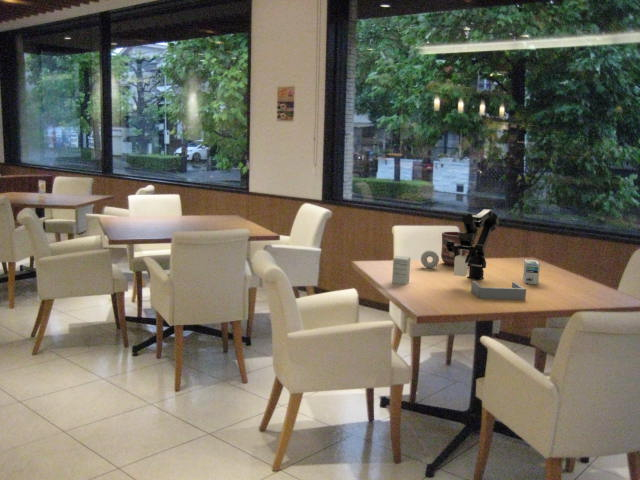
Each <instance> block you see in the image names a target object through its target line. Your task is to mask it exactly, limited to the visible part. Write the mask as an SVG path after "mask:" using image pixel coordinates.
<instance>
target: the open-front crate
mask: <svg viewBox="0 0 640 480" xmlns="http://www.w3.org/2000/svg"><path fill="white" fill-rule="evenodd" d="M470 285H471V288H470V291H471V293H472V294H474V295H475V296H476V297H477V298H478V299H481V300H515V301H516V300H517V301H519V300H521V301H525V300H526V296H527V288H526V287H524V286H522V285H520V284H519V283H517V282H516V281H512V283H511V287H489V286H482V285H481V284H480V283H479V282H477V280H471V284H470Z"/></svg>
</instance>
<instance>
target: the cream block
mask: <svg viewBox="0 0 640 480" xmlns="http://www.w3.org/2000/svg"><path fill="white" fill-rule="evenodd" d="M466 258H467V256H460V255H458V256H456V257H455V262H454V266H453V276H459V277H463V278H464V277H465V276H467V275H468V267H469V266H468V262H467V263H465V261H466Z"/></svg>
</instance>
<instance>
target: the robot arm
mask: <svg viewBox="0 0 640 480" xmlns="http://www.w3.org/2000/svg"><path fill="white" fill-rule="evenodd" d="M461 222H462V226H463V229H464V230H465V231H464V233H459V238H458V239H459V240H460V241H459V243H461V245H458V244H456V243H455V241H447V242H446V247H447V250H448V251H449V252H453V253H454V260H455V257H456V256H458V255H459V251H458V250H459V249H461V250H468V251H469V253H468V256H467V258H466V261H465V263H467V262H468V267H469V270H468V276H467V277H466V278H467V279H470V280H471V279H472V280H474V281H479V280H482V279H483V280H484V279H485V277H484V271H485V270H484V269H486V268H487V261H486V257H485V255H486V247H487V244H488V242H489V239H490V236H491V234H492V232H493V231H495V230H497V227H498V226H499V225H500V218H499V216H498V214H496V213H494V211H493V210H492V209H489V208H488V209H486V208H484V209H482V210H481V211H480V212H479V213H477V214H475V215H474V214H473V213H467V215H465V216H463V217H462V218H461ZM481 228H482V229H481ZM479 229H481V232H480V234H479ZM477 236H479V237H478V240H477V242H475V241H476V239H477V238H476V237H477ZM475 243H476V244H475Z"/></svg>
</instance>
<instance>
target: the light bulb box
mask: <svg viewBox="0 0 640 480" xmlns="http://www.w3.org/2000/svg"><path fill="white" fill-rule="evenodd" d="M540 268H541V264H540V262H539V261H538V260H534V259H524V265H523V275H522V281H523V282H524V284H526V283H528V285H529V284H530V285H531V284H532V285H539V281H540V280H539V279H540V278H539V277H540Z"/></svg>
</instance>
